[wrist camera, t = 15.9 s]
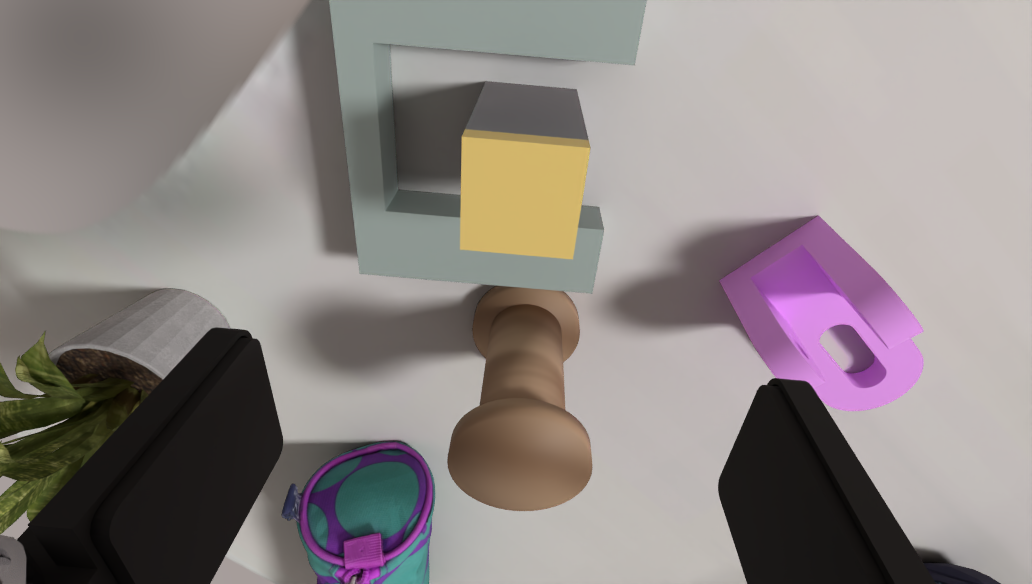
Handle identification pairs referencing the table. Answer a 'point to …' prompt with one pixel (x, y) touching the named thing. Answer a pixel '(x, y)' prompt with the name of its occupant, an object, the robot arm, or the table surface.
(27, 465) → the house plant
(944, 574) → the portable speaker
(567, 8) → the notched board
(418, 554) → the pencil case
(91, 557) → the robot arm
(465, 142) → the yellow and grey block
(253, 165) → the table surface
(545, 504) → the bobbin
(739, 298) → the bracket
